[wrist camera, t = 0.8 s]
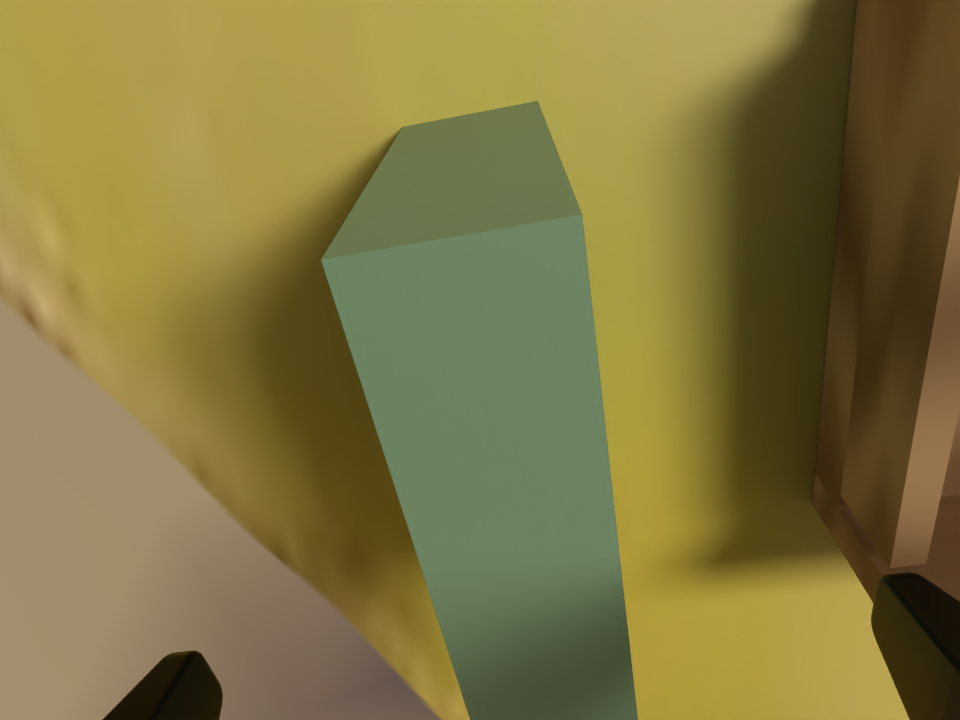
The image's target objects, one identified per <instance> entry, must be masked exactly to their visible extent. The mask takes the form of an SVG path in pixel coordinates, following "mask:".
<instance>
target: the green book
mask: <svg viewBox="0 0 960 720" xmlns="http://www.w3.org/2000/svg"><path fill="white" fill-rule="evenodd" d="M321 262H322V265H323V268H324V271H325V274H326V277H327V280H328V283H329V286H330V289H331V292H332V295H333V299H334V302H335V305H336V308H337V311H338V314H339V317H340V320H341V323H342V326H343V329H344V332H345V335H346V339H347V342H348V345H349V348H350V351H351V354H352V357H353V360H354V363H355V366H356V369H357V372H358V375H359V379H360V382H361V385H362V388H363V391H364V394H365V397H366V400H367V403H368V406H369V409H370V412H371V415H372V419H373V422H374V425H375V428H376V431H377V434H378V437H379V440H380V443H381V446H382V449H383V452H384V455H385V459H386V462H387V465H388V468H389V471H390V474H391V477H392V480H393V483H394V486H395V489H396V492H397V495H398V498H399V502H400V505H401V508H402V511H403V514H404V517H405V520H406V523H407V526H408V529H409V532H410V535H411V538H412V542H413V545H414V548H415V551H416V554H417V557H418V560H419V563H420V566H421V569H422V572H423V575H424V578H425V582H426V585H427V588H428V591H429V594H430V597H431V600H432V603H433V606H434V609H435V612H436V615H437V618H438V622H439V625H440V628H441V631H442V634H443V637H444V640H445V643H446V646H447V649H448V652H449V655H450V658H451V662H452V665H453V668H454V671H455V674H456V677H457V680H458V683H459V686H460V689H461V692H462V695H463V698H464V702H465V705H466V708H467V711H468V714H469V717H470V720H638V718H637V709H636V700H635V691H634V681H633V672H632V663H631V654H630V645H629V636H628V627H627V618H626V609H625V600H624V591H623V582H622V573H621V564H620V555H619V545H618V536H617V527H616V518H615V509H614V500H613V491H612V482H611V473H610V464H609V455H608V446H607V437H606V428H605V419H604V410H603V400H602V391H601V382H600V373H599V364H598V355H597V346H596V337H595V328H594V319H593V310H592V301H591V292H590V283H589V274H588V264H587V255H586V246H585V237H584V228H583V219H582V213H581V211H580V208H579V206H578V203H577V200H576V198H575V195H574V193H573V190H572V188H571V185H570V183H569V180H568V177H567V175H566V172H565V170H564V167H563V165H562V162H561V159H560V157H559V154H558V152H557V149H556V147H555V144H554V142H553V139H552V136H551V134H550V131H549V129H548V126H547V124H546V121H545V118H544V116H543V113H542V111H541V108H540V106H539V103H538V101H535V102H530V103H525V104H520V105H515V106H509V107H504V108H499V109H494V110H489V111H483V112H478V113H473V114H468V115H463V116H458V117H452V118H447V119H442V120H437V121H432V122H427V123H421V124H416V125H411V126H406V127H402V129H401V130H400V132H399V134H398V135H397V137H396V138H395V140H394V142H393V143H392V145H391V147H390V148H389V150H388V152H387V153H386V155H385V156H384V158H383V160H382V161H381V163H380V165H379V166H378V168H377V169H376V171H375V173H374V174H373V176H372V178H371V179H370V181H369V182H368V184H367V186H366V187H365V189H364V191H363V192H362V194H361V195H360V197H359V199H358V200H357V202H356V204H355V205H354V207H353V209H352V210H351V212H350V213H349V215H348V217H347V218H346V220H345V222H344V223H343V225H342V226H341V228H340V230H339V231H338V233H337V235H336V236H335V238H334V239H333V241H332V243H331V244H330V246H329V248H328V249H327V251H326V252H325V254H324V256H323V257H322V259H321Z"/></svg>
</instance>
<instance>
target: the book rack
mask: <svg viewBox="0 0 960 720" xmlns="http://www.w3.org/2000/svg"><path fill="white" fill-rule="evenodd" d="M813 506H814V507H815V509H816V510H817V512H818V514H819V515H820V517H821V519H822V520H823V522H824V523H825V525H826V527H827V528H828V530H829V532H830V533H831V535H832V537H833V538H834V540H835V541H836V543H837V545H838V546H839V548H840V550H841V551H842V553H843V554H844V556H845V558H846V559H847V561H848V563H849V564H850V566H851V567H852V569H853V571H854V572H855V574H856V576H857V577H858V579H859V580H860V582H861V584H862V585H863V587H864V589H865V590H866V592H867V593H868V595H869V597H870V598H871V600H872V602H873V603H874V597H875V591H876V585H877V581H878V579H879V578H880V577H881V576H883V575H887V574H896V573H905V572H913V573H916V574H919V575H921V576H923V577H924V578H926V579H927V580H929V581H930V582H932V583H933V584H935V585H936V586H938V587H939V588H941V589H942V590H943V591H945V592H946V593H948V594H949V595H951V596H952V597H954V598H955V599H957V600H958V601H960V0H857V8H856V20H855V31H854V42H853V54H852V65H851V76H850V87H849V99H848V110H847V121H846V132H845V144H844V155H843V166H842V177H841V189H840V200H839V211H838V223H837V234H836V245H835V256H834V268H833V279H832V290H831V301H830V313H829V324H828V335H827V347H826V358H825V369H824V380H823V392H822V403H821V414H820V425H819V437H818V448H817V459H816V470H815V482H814V493H813Z"/></svg>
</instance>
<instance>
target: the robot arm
mask: <svg viewBox="0 0 960 720" xmlns="http://www.w3.org/2000/svg"><path fill="white" fill-rule="evenodd" d="M871 624H872V630H873V633H874V636H875V639H876V641H877V644H878V646H879V648H880V651H881V653H882V656H883V658H884V660H885V663H886V665H887V667H888V670H889V672H890V674H891V677H892V679H893V681H894V684H895V686H896V688H897V691H898V693H899V696H900V698H901V700H902V703H903V705H904V707H905V710H906V712H907V714H908V717H909V719H910V720H960V601H958V600H957V599H955V598H954V597H952V596H951V595H949V594H948V593H946V592H945V591H943V590H942V589H941V588H939V587H938V586H936V585H935V584H933V583H932V582H930V581H929V580H927V579H926V578H924V577H923V576H921V575H919V574H916V573H913V572H905V573H896V574H887V575H883V576H881V577H880V578H879V579H878V581H877V585H876V591H875V597H874V603H873V609H872V615H871ZM222 698H223V696H222V689H221V685H220V683H219V681H218V680H217V678H216V676H215V675H214V673H213V671H212V670H211V668H210V667H209V665H208V663H207V662H206V660H205V658H204V657H203V656H202V654H201V653H199V652H197V651H185V652H176V653H172V654H169V655H167V656H166V657H164V658H163V659H162V660H161V661H160V662H159V663H158V664H157V665H156V666H155V667H154V668H153V669H152V670H151V671H150V672H149V673H148V674H147V675H146V676H145V677H144V678H143V679H142V680H141V681H140V682H139V683H138V684H137V685H136V686H135V687H134V688H133V689H132V690H131V691H130V692H129V693H128V694H127V695H126V697H124V698H123V700H121V702H120V703H119V704H118V705H117V706H116V707H115V708H114V709H113V710H112V711H111V712H110V713H109V714H108V715H107V716H106V717H105V718H104V719H103V720H219V717H220V712H221V707H222Z"/></svg>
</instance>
